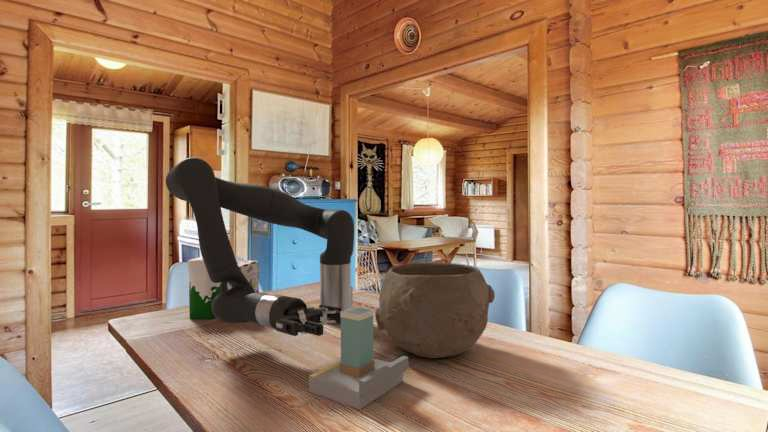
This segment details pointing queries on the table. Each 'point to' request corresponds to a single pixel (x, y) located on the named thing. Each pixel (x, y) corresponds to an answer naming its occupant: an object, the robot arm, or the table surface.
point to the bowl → (434, 307)
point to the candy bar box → (249, 273)
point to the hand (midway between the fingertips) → (336, 324)
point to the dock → (358, 382)
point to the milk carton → (201, 290)
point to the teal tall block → (356, 342)
